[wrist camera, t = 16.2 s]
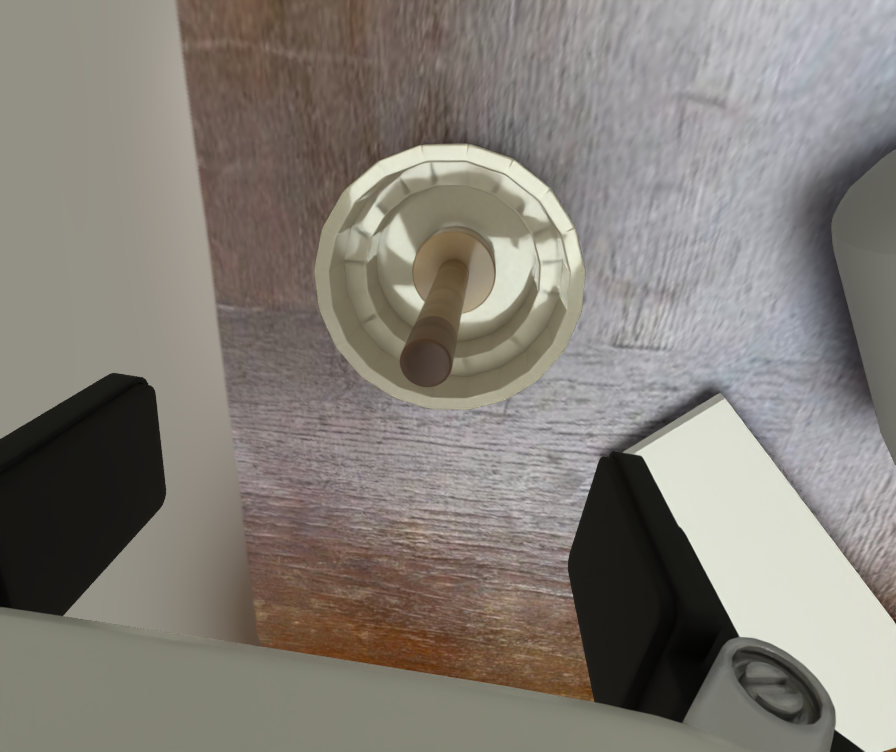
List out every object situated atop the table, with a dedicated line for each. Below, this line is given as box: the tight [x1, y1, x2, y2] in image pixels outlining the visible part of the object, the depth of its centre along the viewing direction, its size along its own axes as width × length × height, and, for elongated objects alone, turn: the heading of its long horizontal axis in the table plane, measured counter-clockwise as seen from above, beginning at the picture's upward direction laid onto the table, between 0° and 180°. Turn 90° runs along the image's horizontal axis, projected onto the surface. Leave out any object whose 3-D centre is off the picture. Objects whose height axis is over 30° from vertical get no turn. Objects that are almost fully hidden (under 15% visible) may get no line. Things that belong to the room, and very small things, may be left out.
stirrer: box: [400, 226, 496, 387], centre depth 22 cm, size 4×4×14 cm
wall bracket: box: [622, 393, 896, 752], centre depth 34 cm, size 10×7×28 cm
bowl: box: [314, 144, 586, 410], centre depth 26 cm, size 12×12×6 cm
